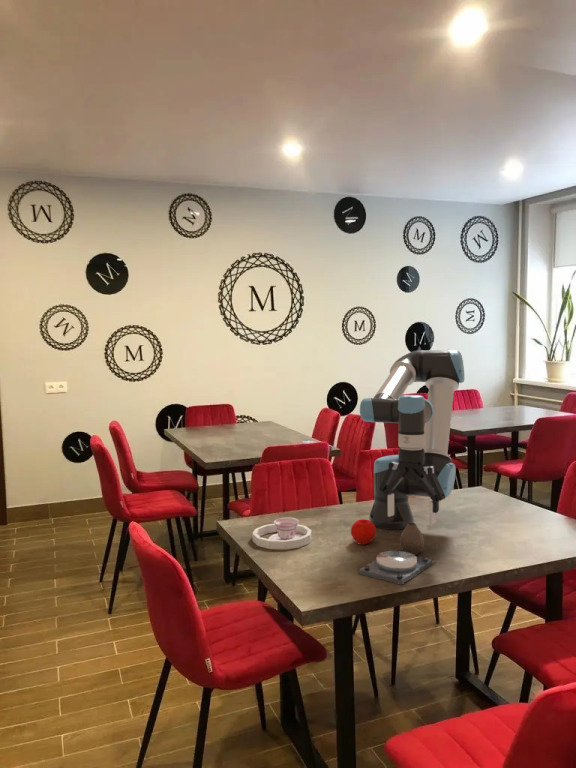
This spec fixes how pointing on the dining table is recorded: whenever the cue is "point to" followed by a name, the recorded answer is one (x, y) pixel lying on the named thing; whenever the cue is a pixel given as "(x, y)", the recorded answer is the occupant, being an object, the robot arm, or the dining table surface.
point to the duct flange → (395, 566)
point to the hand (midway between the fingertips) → (411, 519)
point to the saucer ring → (281, 543)
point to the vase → (411, 539)
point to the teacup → (286, 529)
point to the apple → (363, 531)
